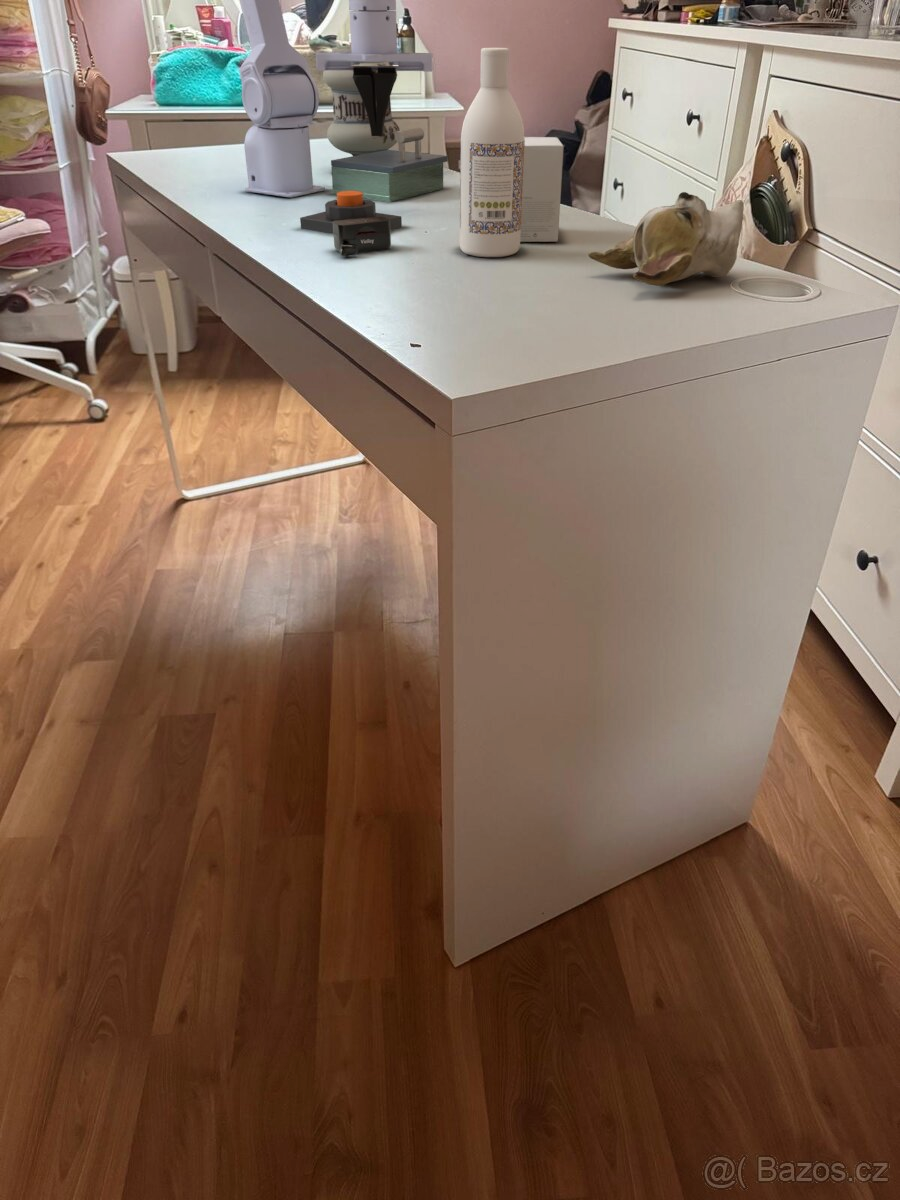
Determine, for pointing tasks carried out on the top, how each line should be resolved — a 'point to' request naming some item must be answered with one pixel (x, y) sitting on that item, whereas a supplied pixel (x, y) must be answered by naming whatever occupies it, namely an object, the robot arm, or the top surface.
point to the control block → (344, 216)
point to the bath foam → (492, 164)
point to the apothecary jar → (355, 114)
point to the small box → (541, 189)
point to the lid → (393, 156)
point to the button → (349, 198)
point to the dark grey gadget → (361, 235)
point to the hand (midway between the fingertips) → (377, 135)
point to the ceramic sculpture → (680, 242)
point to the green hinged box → (388, 182)
